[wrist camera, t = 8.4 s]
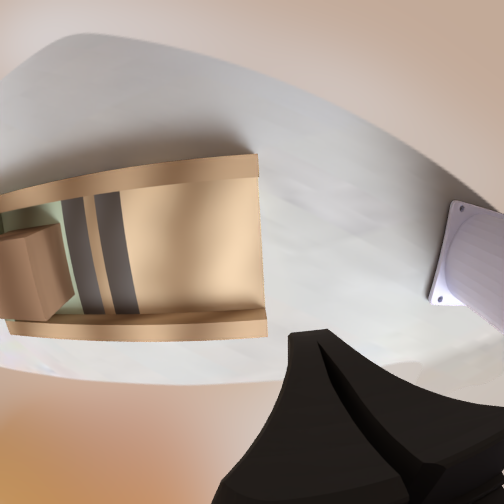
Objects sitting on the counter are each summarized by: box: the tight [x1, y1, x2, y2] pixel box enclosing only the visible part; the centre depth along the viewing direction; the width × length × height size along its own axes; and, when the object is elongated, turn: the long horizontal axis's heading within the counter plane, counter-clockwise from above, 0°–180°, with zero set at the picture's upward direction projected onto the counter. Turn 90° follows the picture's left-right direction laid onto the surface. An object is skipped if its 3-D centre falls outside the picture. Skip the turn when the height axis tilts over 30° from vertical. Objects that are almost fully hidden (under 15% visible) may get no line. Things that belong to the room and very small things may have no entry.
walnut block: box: [0, 223, 75, 321], centre depth 16 cm, size 5×5×4 cm
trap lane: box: [0, 154, 268, 342], centre depth 18 cm, size 20×10×2 cm, turn 94°
